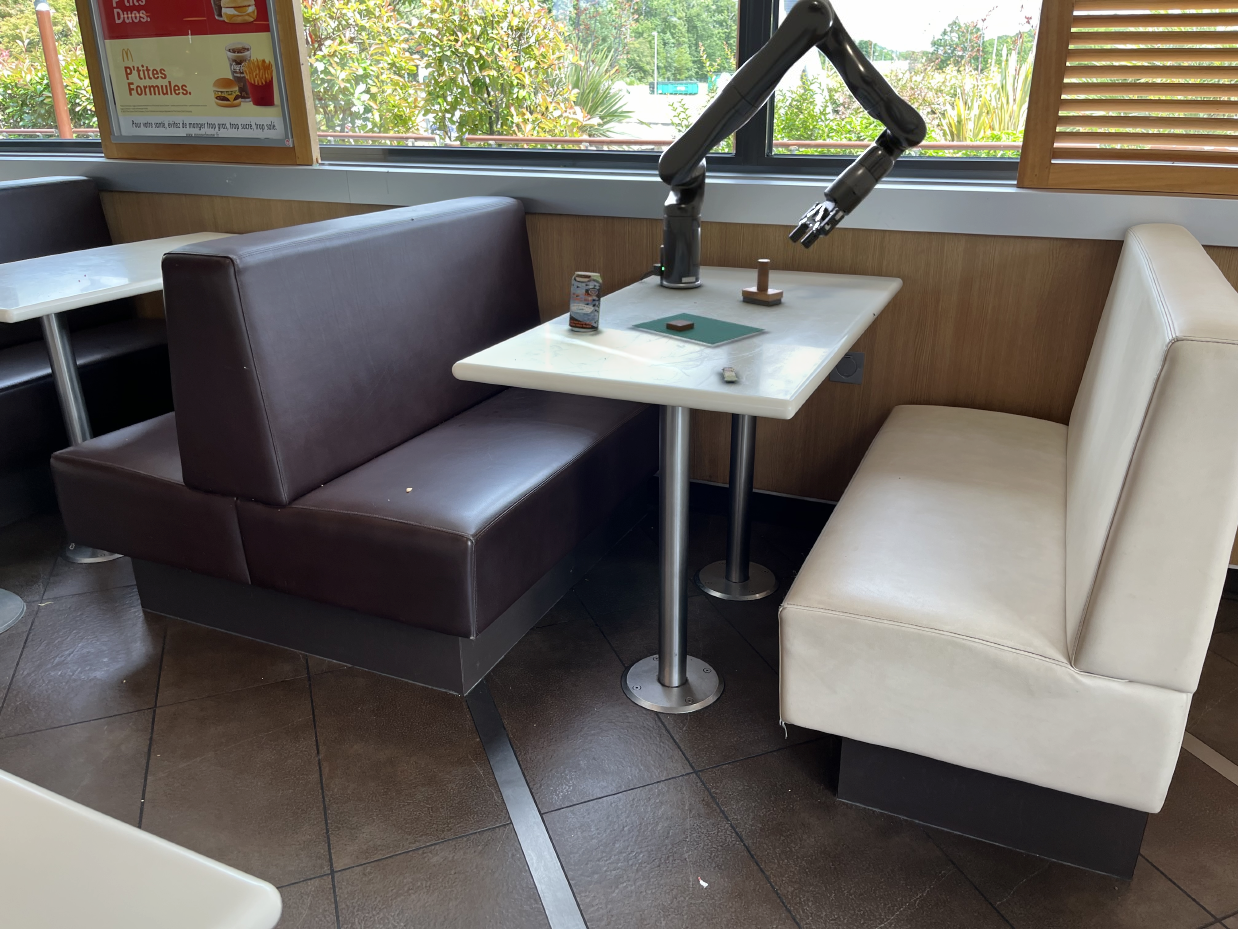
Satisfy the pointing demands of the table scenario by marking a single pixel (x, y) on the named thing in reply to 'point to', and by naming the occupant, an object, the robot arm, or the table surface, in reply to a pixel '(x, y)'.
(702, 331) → the mat
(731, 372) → the granola bar
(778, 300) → the brush
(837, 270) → the table surface
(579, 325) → the beverage can
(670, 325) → the brown square block
